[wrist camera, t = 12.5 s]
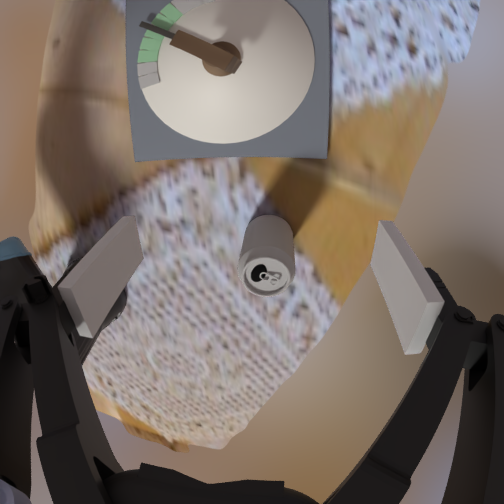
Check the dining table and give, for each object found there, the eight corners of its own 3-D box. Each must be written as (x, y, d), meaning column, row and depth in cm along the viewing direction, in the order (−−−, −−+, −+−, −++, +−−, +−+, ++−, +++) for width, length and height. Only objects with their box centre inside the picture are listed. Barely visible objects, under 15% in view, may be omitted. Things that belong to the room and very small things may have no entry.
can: (256, 204, 45) (248, 243, 35) (300, 223, 46) (306, 266, 36) (238, 244, 49) (227, 290, 39) (280, 260, 50) (280, 309, 40)
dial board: (138, 160, 43) (133, 162, 41) (129, -8, 28) (124, -10, 27) (325, 157, 41) (327, 159, 39) (325, -25, 26) (326, -29, 25)
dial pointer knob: (232, 85, 35) (215, 84, 25) (135, 39, 32) (91, 30, 22) (252, 55, 33) (243, 42, 23) (152, 10, 29) (113, -8, 19)
